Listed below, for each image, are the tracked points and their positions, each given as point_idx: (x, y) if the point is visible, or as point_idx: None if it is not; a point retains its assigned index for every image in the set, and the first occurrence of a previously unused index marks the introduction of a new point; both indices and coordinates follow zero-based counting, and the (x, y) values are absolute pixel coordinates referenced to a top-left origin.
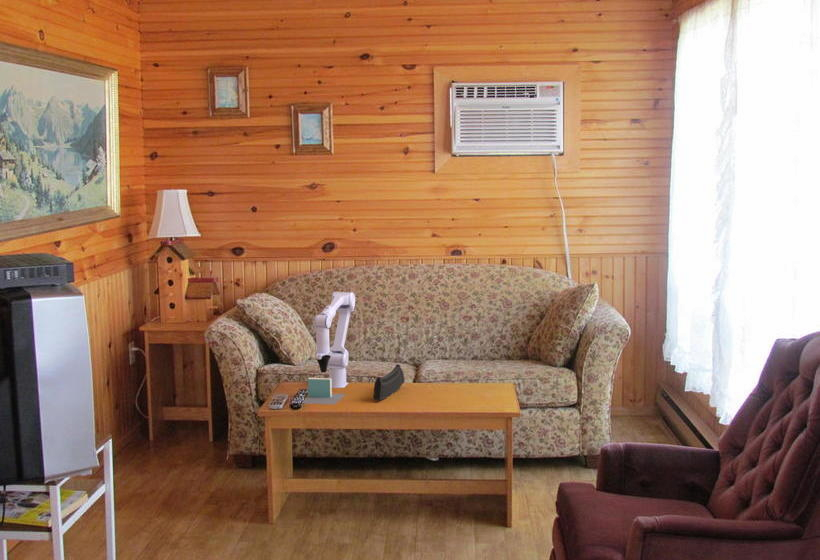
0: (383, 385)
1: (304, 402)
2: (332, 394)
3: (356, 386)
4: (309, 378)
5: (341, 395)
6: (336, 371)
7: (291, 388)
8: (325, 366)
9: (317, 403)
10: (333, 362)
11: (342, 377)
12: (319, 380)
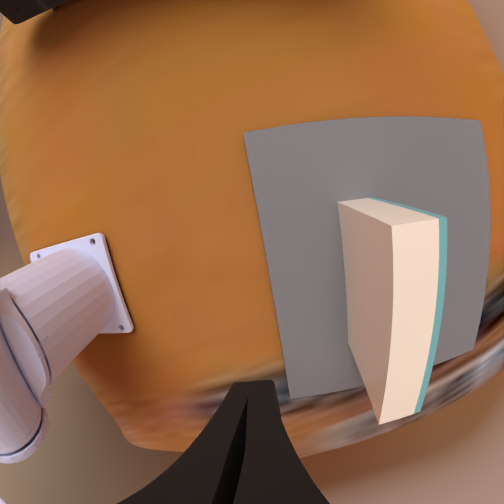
0: None
1: (475, 293)
2: (286, 219)
3: (48, 186)
4: (403, 412)
5: (292, 144)
6: (45, 320)
7: None
8: (288, 441)
9: (486, 220)
10: (8, 382)
11: (47, 266)
12: (434, 325)
